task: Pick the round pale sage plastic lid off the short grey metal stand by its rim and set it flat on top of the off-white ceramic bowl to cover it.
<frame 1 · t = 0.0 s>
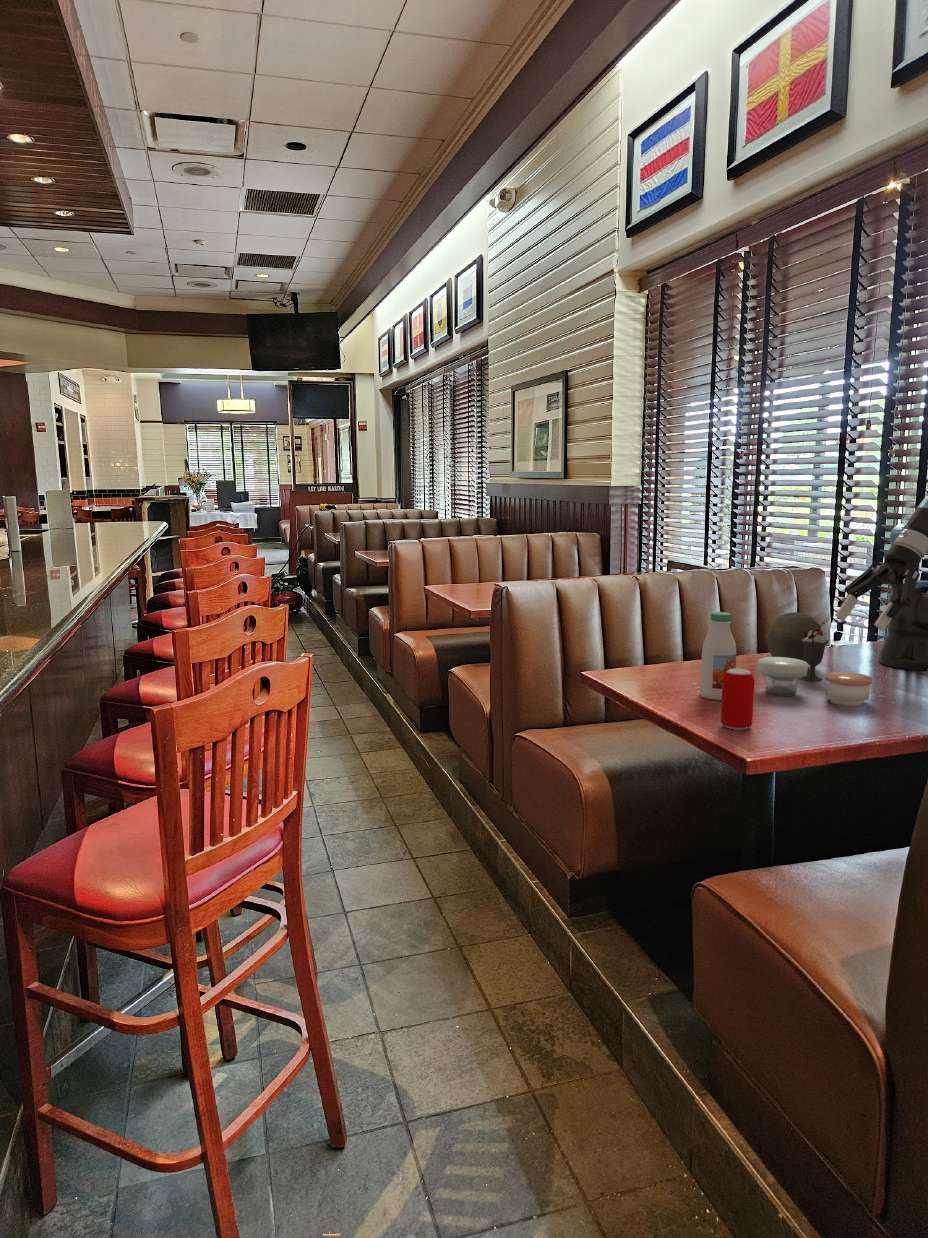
hand: (858, 623, 198), 15 cm above the table, tool tilted 35°, fingers open, 13 cm apart
lid stand: (780, 692, 193), on the table
bowl: (846, 702, 184), on the table
cantaloupe: (792, 668, 217), on the table
lid: (782, 672, 192), point 5 cm above the table, touching lid stand
beverage can: (735, 728, 166), on the table
sundae: (812, 680, 205), on the table
milk bottle: (716, 697, 190), on the table
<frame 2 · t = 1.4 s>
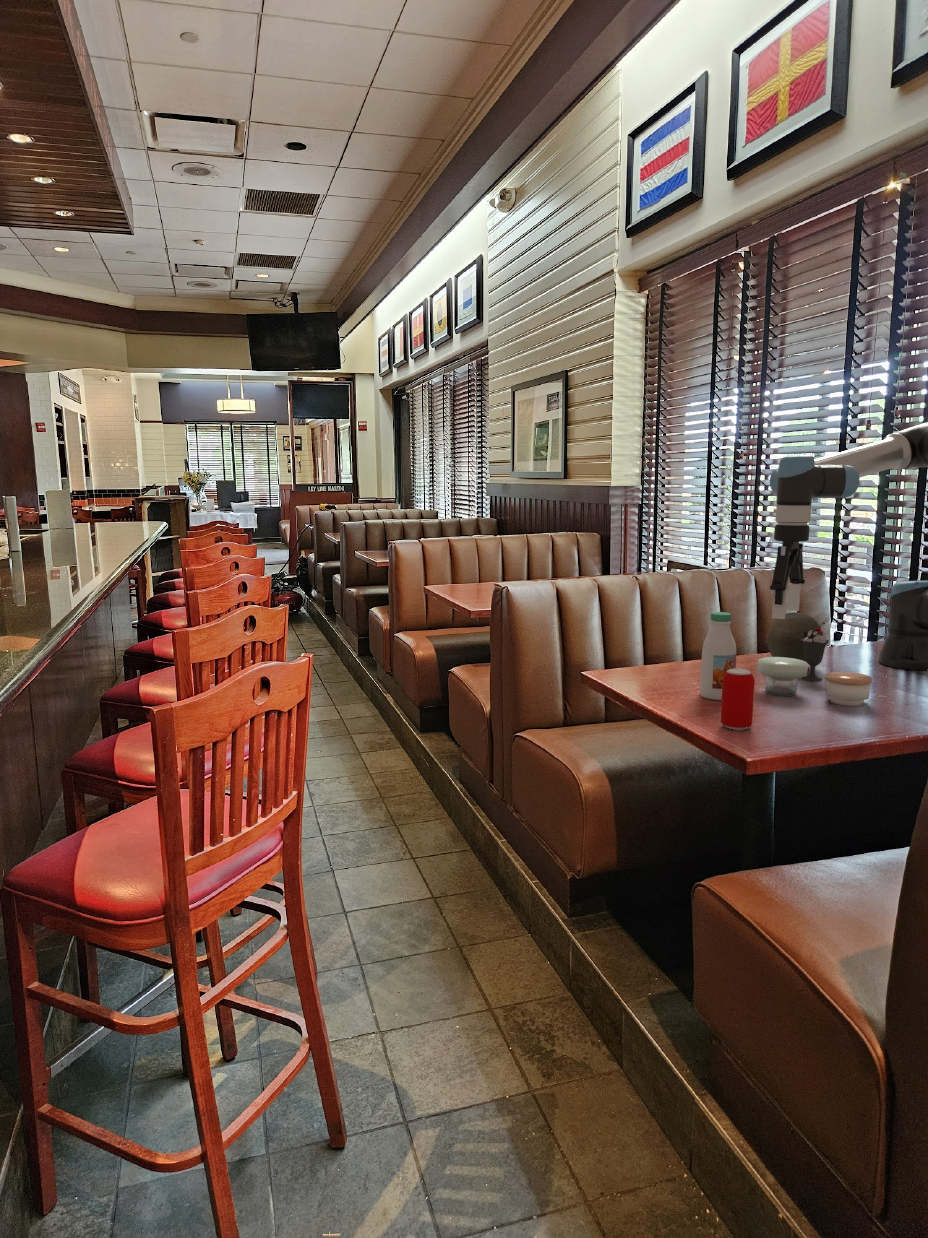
hand: (785, 614, 189), 19 cm above the table, tool pointing down, fingers open, 13 cm apart
nothing on the table moved.
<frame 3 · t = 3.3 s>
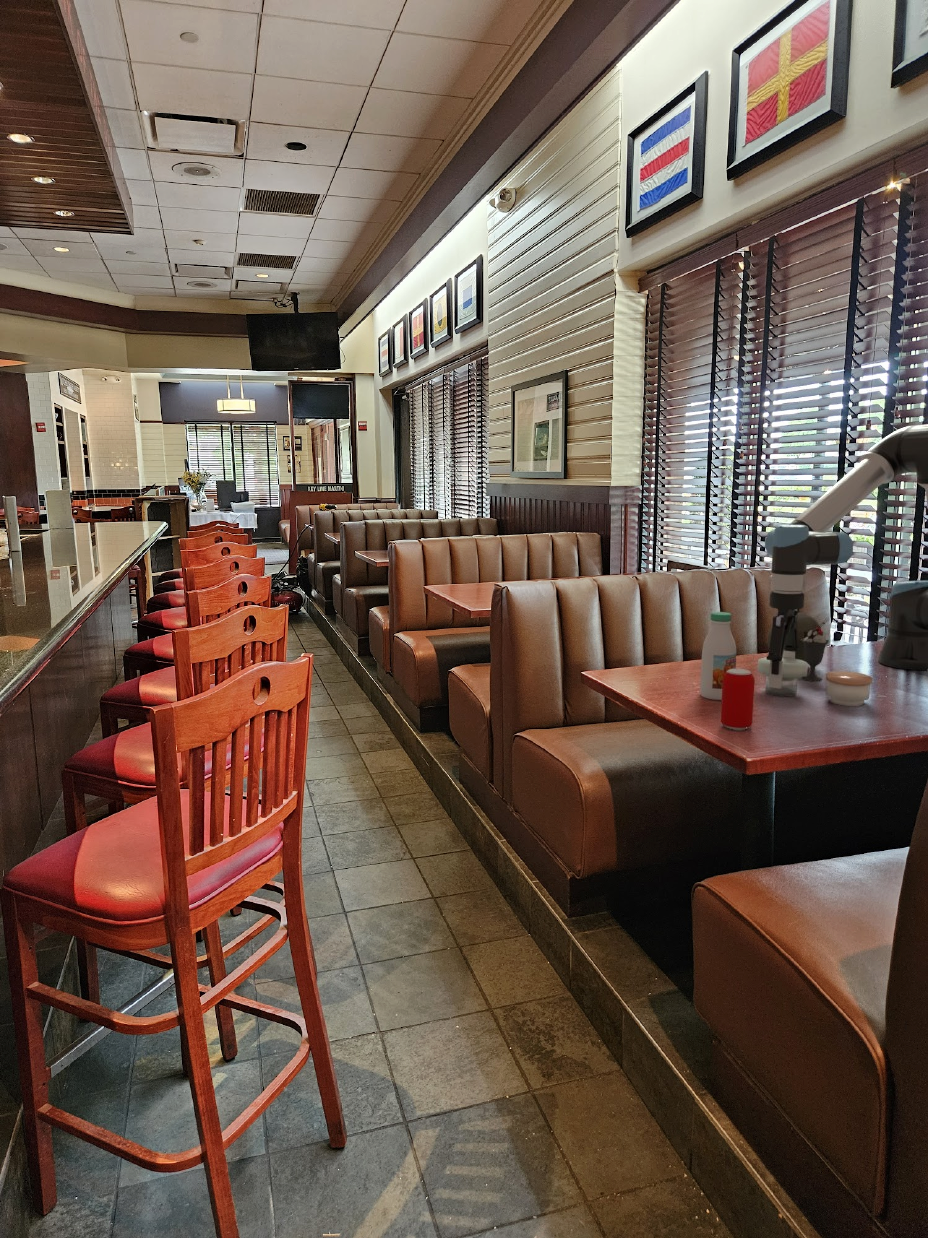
hand: (781, 682, 192), 3 cm above the table, tool pointing down, fingers closed on lid, 11 cm apart
lid: (782, 672, 192), point 5 cm above the table, touching gripper, lid stand
everything else where it was.
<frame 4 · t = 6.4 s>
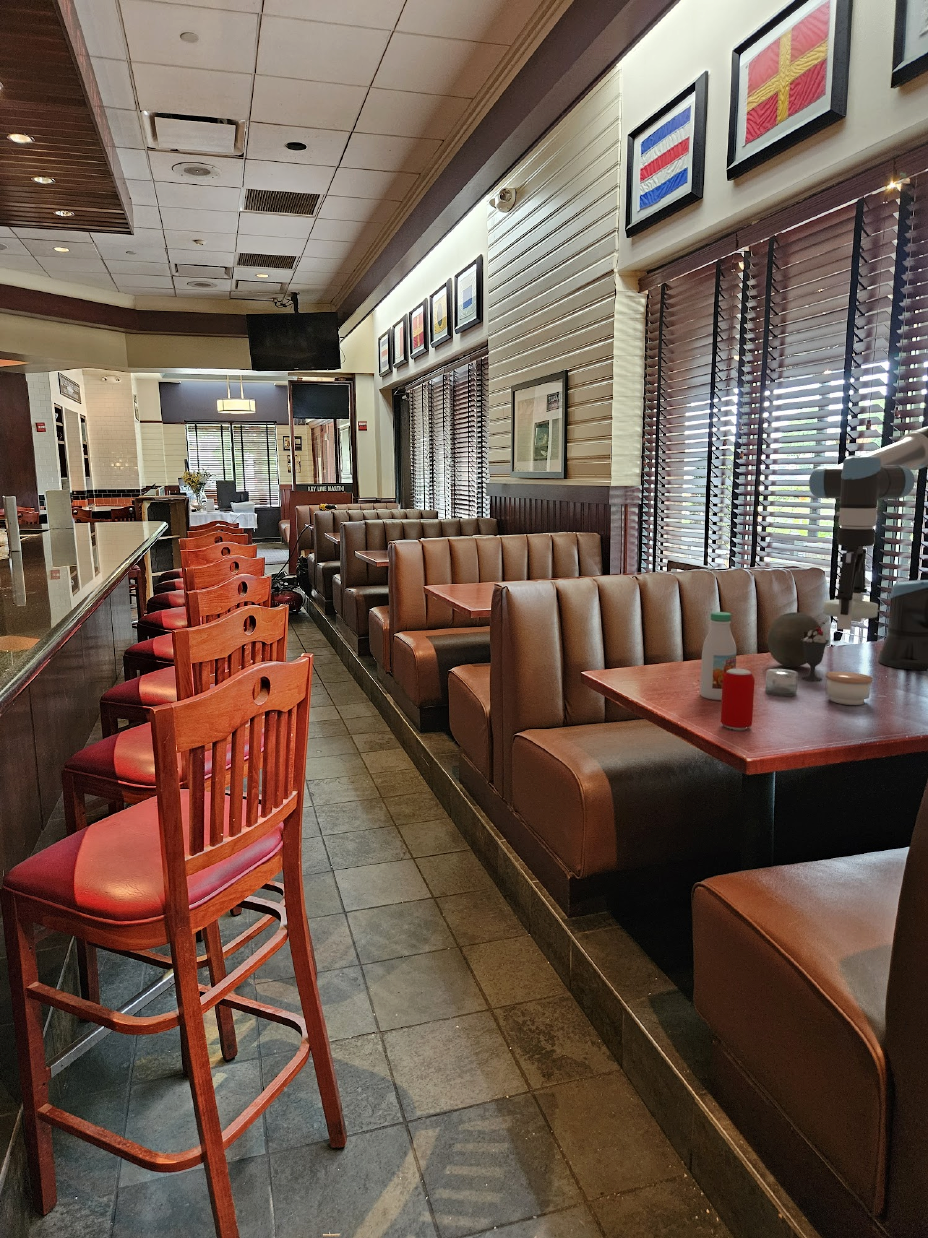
hand: (849, 624, 182), 18 cm above the table, tool pointing down, fingers closed on lid, 11 cm apart
lid: (849, 614, 181), point 20 cm above the table, touching gripper
everything else where it was.
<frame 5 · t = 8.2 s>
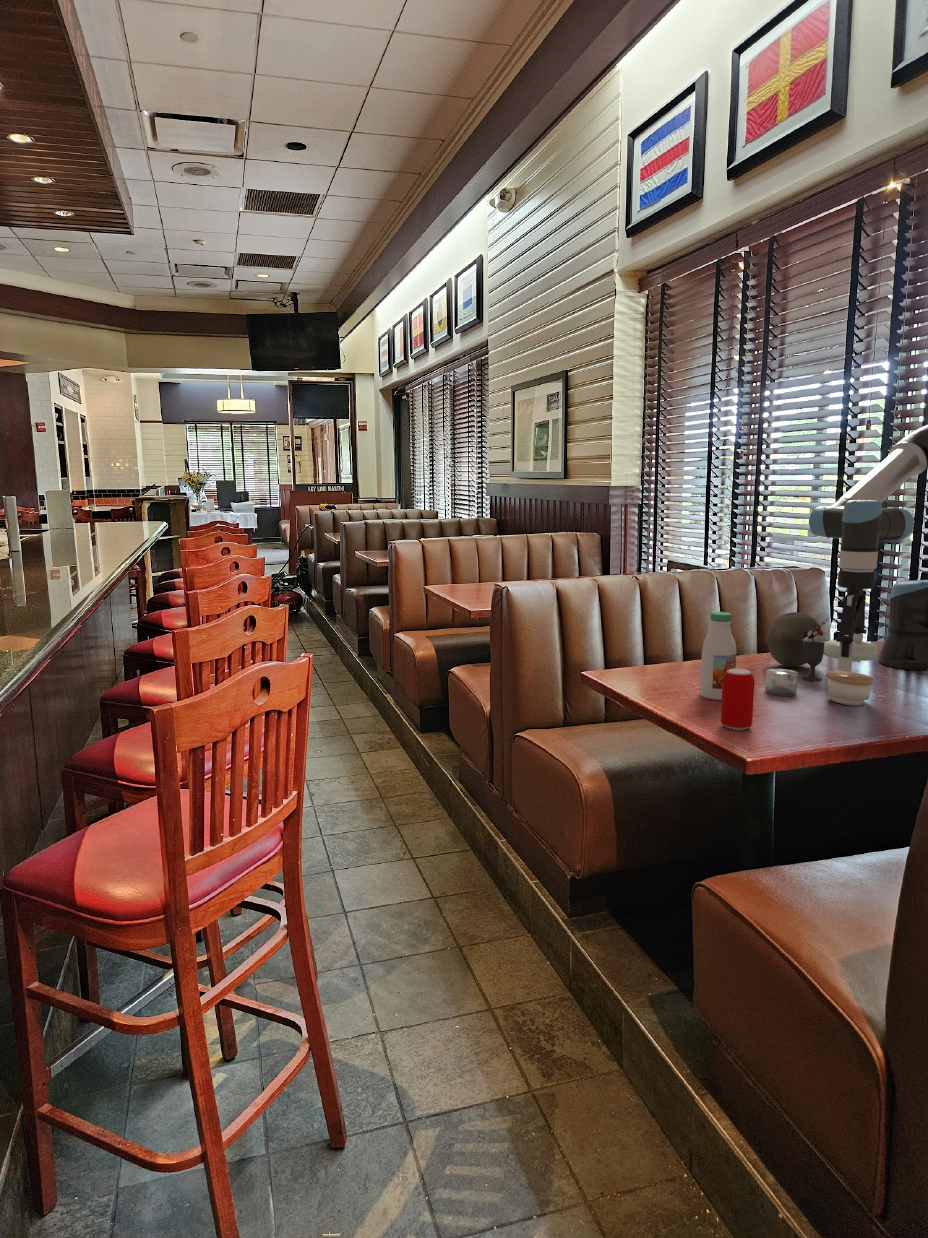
hand: (849, 666, 183), 8 cm above the table, tool pointing down, fingers closed on lid, 11 cm apart
lid: (850, 655, 182), point 11 cm above the table, touching gripper
everything else where it was.
when the fingers open (6 cm above the table, at t = 9.5 s): lid drops 2 cm, resting on bowl.
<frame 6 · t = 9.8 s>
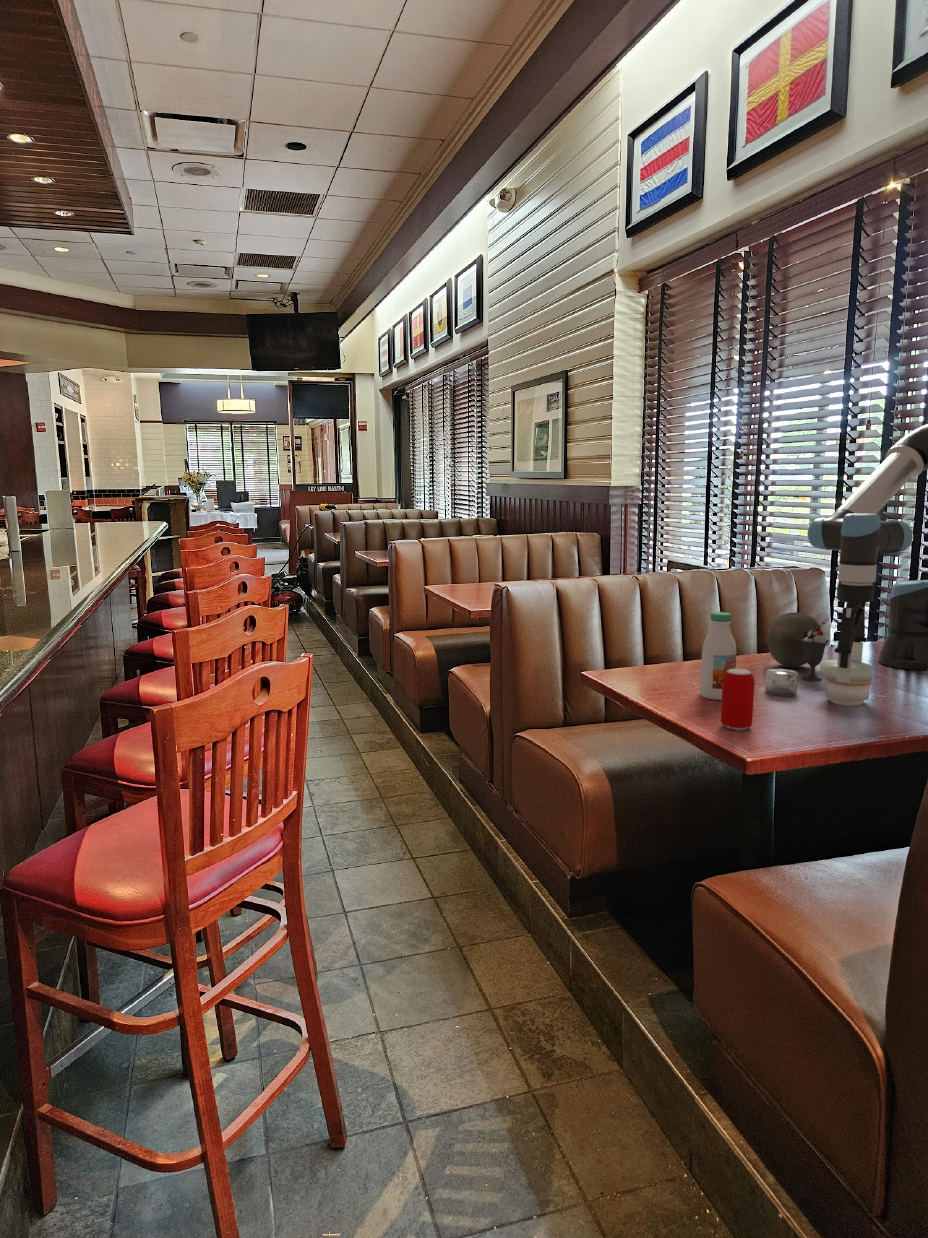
hand: (848, 675, 183), 6 cm above the table, tool pointing down, fingers open, 13 cm apart
bowl: (846, 702, 184), on the table, touching lid
lid: (845, 675, 184), point 6 cm above the table, touching bowl
everything else where it was.
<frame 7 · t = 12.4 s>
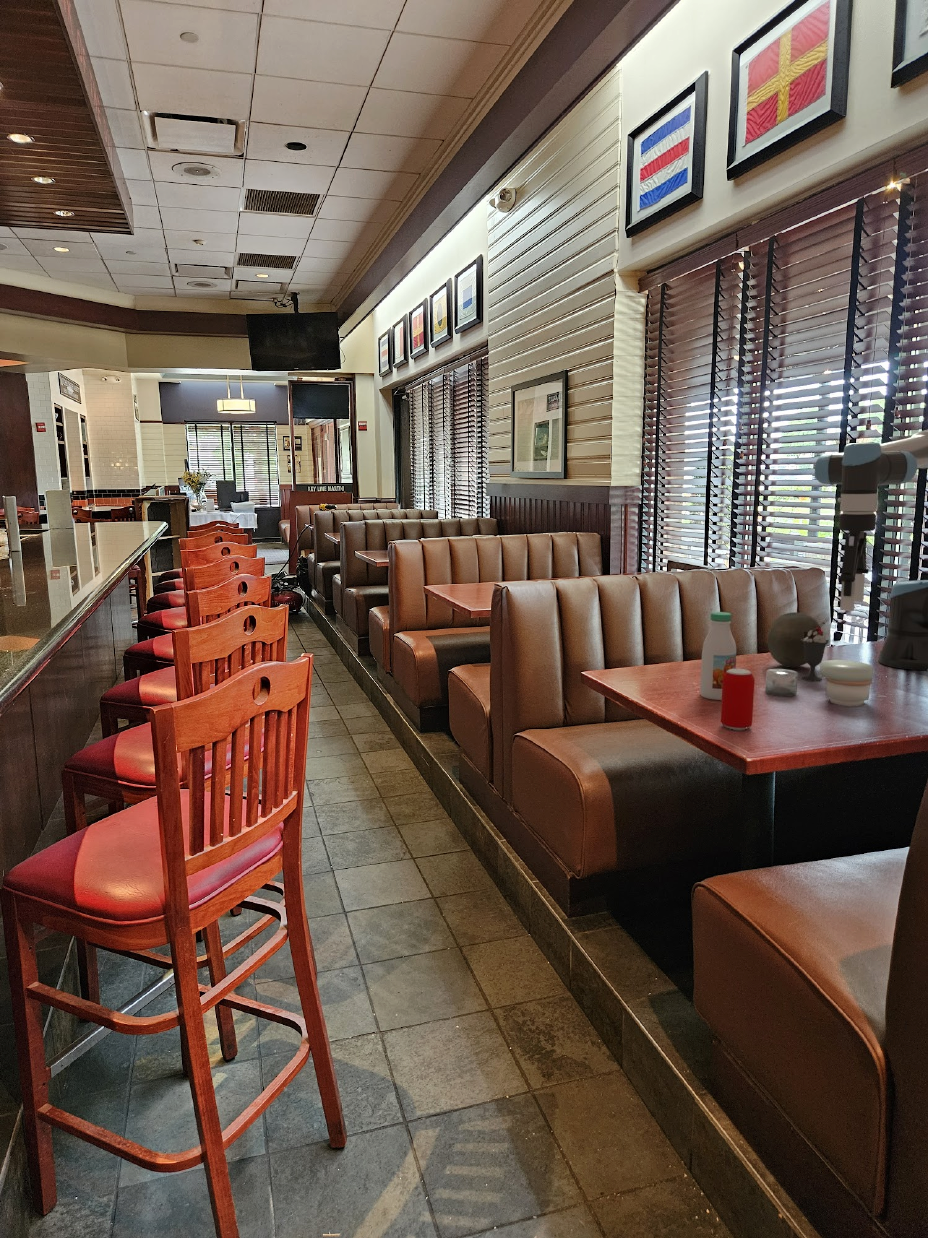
hand: (851, 605, 185), 22 cm above the table, tool pointing down, fingers open, 13 cm apart
nothing on the table moved.
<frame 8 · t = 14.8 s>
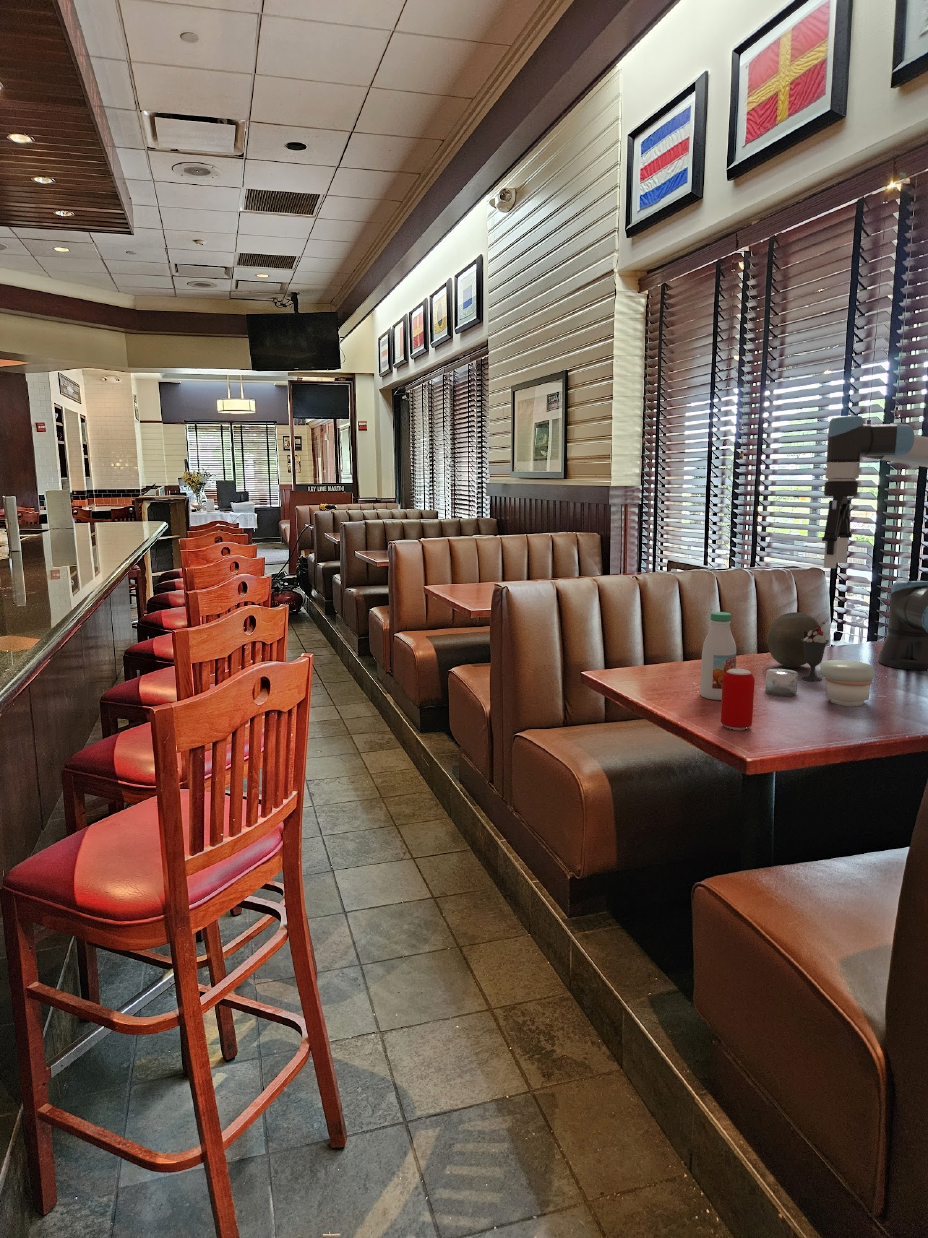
hand: (835, 565, 203), 29 cm above the table, tool pointing down, fingers open, 13 cm apart
nothing on the table moved.
at the end: lid 1.0 cm off-centre on the bowl, point 6.0 cm above the bowl's base; lid tilted 0°; bowl moved 0.2 cm from its start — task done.
